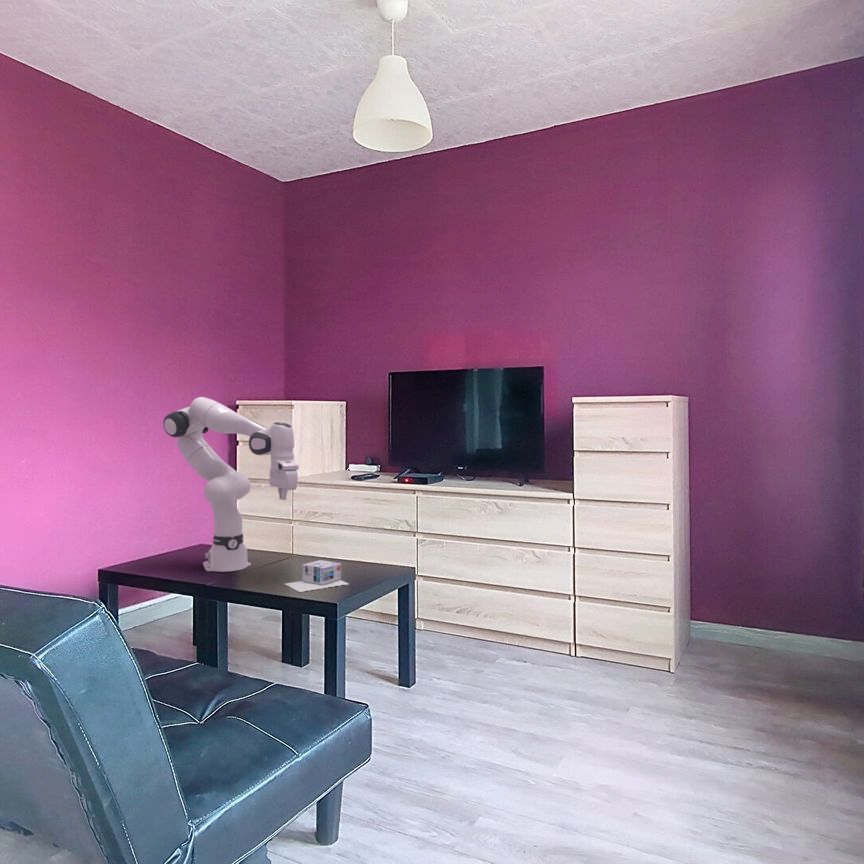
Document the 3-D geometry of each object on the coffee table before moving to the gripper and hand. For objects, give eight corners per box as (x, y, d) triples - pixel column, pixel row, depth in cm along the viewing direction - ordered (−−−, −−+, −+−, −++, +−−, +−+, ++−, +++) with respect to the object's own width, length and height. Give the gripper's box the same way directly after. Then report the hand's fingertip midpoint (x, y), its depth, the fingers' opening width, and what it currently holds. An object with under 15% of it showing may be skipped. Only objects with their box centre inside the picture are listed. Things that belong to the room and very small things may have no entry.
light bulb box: (301, 581, 253) (323, 585, 247) (301, 563, 253) (323, 567, 247) (320, 576, 262) (341, 580, 256) (320, 559, 262) (341, 562, 256)
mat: (284, 584, 250) (284, 583, 250) (332, 577, 262) (332, 576, 261) (299, 592, 239) (299, 591, 239) (349, 584, 250) (349, 583, 250)
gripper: (265, 462, 265) (265, 497, 265) (284, 466, 248) (285, 502, 248) (280, 462, 269) (280, 496, 269) (300, 465, 252) (300, 501, 252)
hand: (282, 499), depth 259 cm, fingers closed
